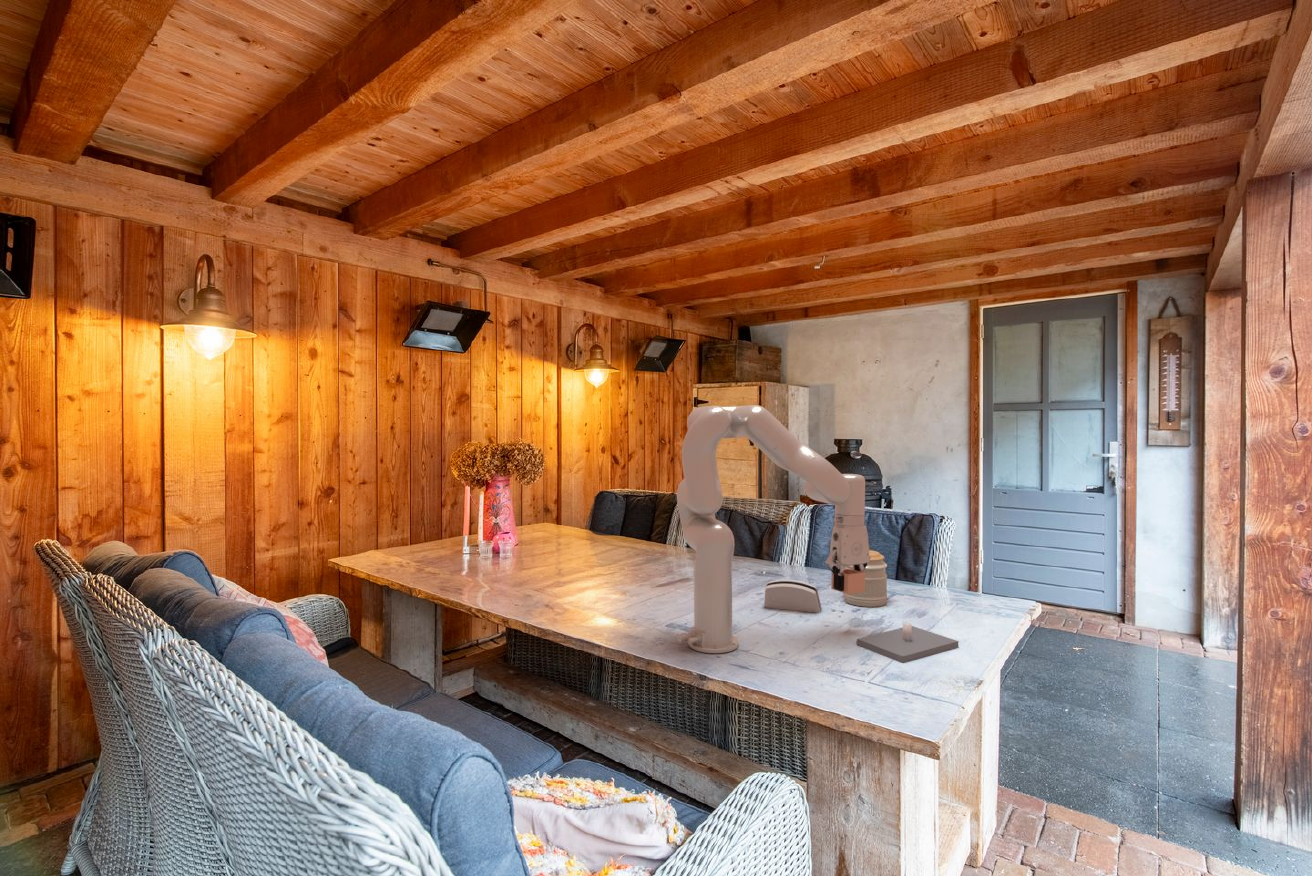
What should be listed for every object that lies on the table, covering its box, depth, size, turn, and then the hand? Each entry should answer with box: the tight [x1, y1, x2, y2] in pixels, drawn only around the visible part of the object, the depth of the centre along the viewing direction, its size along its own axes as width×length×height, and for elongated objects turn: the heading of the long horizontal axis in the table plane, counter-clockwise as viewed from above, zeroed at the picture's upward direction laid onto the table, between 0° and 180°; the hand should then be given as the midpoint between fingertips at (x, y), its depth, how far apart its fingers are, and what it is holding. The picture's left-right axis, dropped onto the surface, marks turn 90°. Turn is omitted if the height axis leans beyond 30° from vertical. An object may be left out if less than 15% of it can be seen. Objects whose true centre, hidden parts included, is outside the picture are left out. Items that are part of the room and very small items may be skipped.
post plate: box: [856, 622, 959, 663], centre depth 159 cm, size 20×14×6 cm
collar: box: [830, 568, 865, 594], centre depth 170 cm, size 6×6×5 cm
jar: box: [843, 549, 888, 608], centre depth 198 cm, size 13×13×18 cm
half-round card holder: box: [763, 579, 822, 614], centre depth 191 cm, size 17×5×10 cm, turn 67°
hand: (847, 588), depth 170 cm, fingers closed on collar, 6 cm apart
